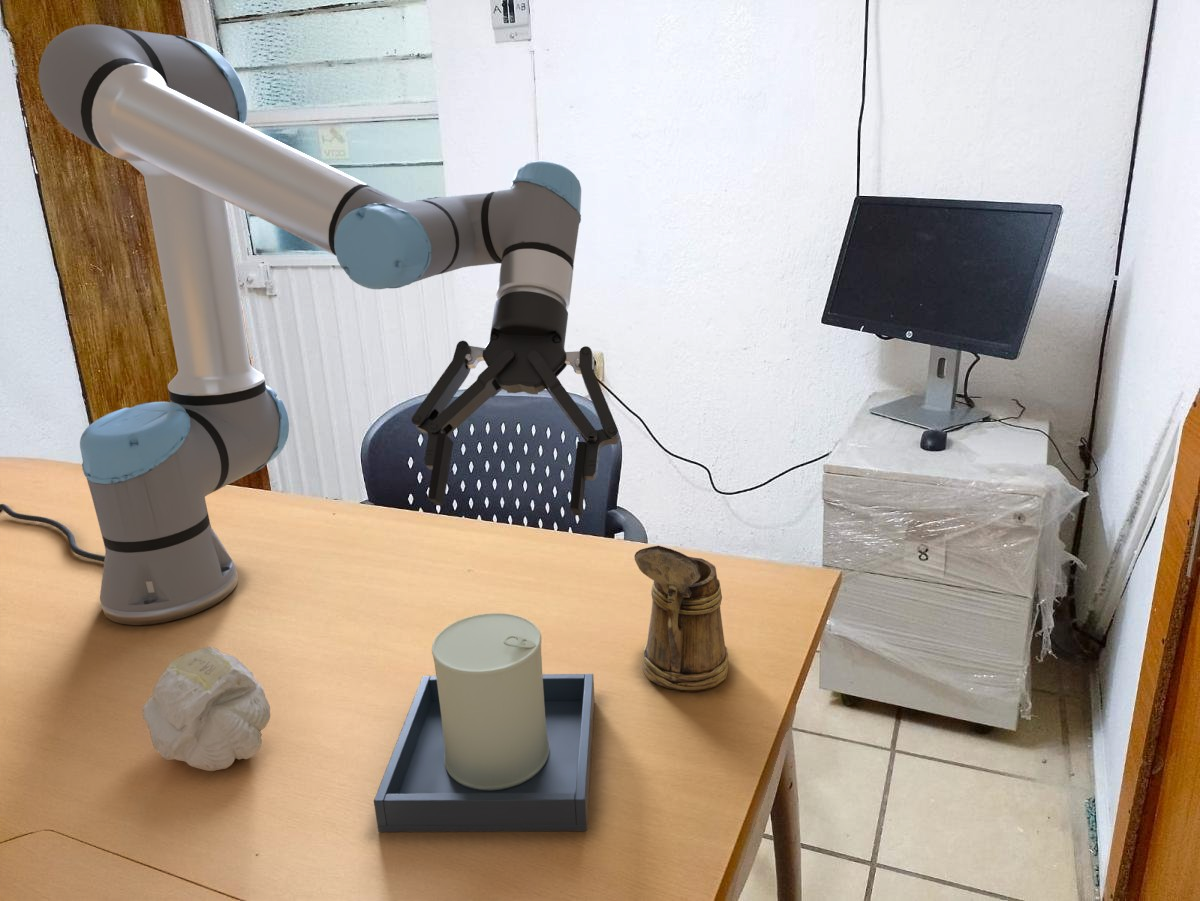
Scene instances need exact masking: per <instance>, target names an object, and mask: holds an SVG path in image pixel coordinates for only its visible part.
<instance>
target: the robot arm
mask: <svg viewBox="0 0 1200 901" xmlns="http://www.w3.org/2000/svg"><path fill="white" fill-rule="evenodd" d="M38 83H39V87H40V92H41V95H42V98H43V100H44V102H45V105H46V106H47V107H48V109H49V111H50V113H51V114H52V116H53V117H54V118H55V119H56V121H57V122H59V124H61V126H62V127H63V128H65V129H66V130H67V131H69V132H70V133H71V134H72V135H74V136H75V137H77V138H78V139H80V140H81V141H83V142H85V143H87V144H88V145H91V146H92V147H93V148H96V149H98V150H99V151H103V152H104V153H107V155H110V156H112V157H115V158H116V159H120V160H123V161H126V162H127V163H128V164H130V166H132V167H133V168H135V169H136V170H137V171H138V172H139V173H140V174H141V175H142V177H143V180H144V185H145V191H146V196H147V202H148V207H149V213H150V219H151V223H152V231H153V235H154V241H155V247H156V252H157V259H158V263H159V270H160V275H161V281H162V287H163V292H164V293H163V294H164V298H165V303H166V308H167V309H166V310H167V315H168V320H169V325H170V327H169V328H170V332H171V337H172V343H173V349H174V354H175V355H174V356H175V360H176V365H177V373H176V375H175V376H174V377H173V378H172V379H171V380H170V382H169V383H168V384H167V391H168V397H169V401H152V402H151V401H150V402H144V403H139V404H136V405H134V406H132V407H123V408H121V409H117V410H115V411H113V412H109V413H106V414H105V415H103V416H102V417H99V418H98V419H96V420H94V421H93V422H92V423H91V424H89V425H88V426H87V427H86V428H85V429H84V431H83V432H82V434H81V436H80V440H79V449H80V456H81V459H82V463H81V467H82V472H83V476H85V479H86V481H87V484H88V485H87V486H88V488H89V492H90V495H91V499H92V503H93V507H94V510H95V515H96V518H97V522H98V526H99V530H100V533H101V537H102V542H103V546H104V549H105V552H104V554H105V555H101V554H97V553H92V552H90V551H86V550H83V549H82V548H80V547H78V546H77V543H76V538H75V535H74V534H73V533H72V531H71V530H70V529H69V528H68V527H67V526H66V525H64V524H62V523H61V522H59V521H57V520H54V519H51V518H48V517H45V516H39V515H31V514H23V513H19V512H15V511H14V510H13V509H12V508H10V507H9V506H8V505H6V503H0V512H2V511H4V512H5V513H6V514H7V515H8V516H10V517H11V518H14V519H18V520H22V521H31V522H37V523H43V524H47V525H50V526H52V527H55V528H56V529H58V530H59V531H60V532H62V533H63V534H64V535H65V536H66V537H67V541H68V547H69V548H70V549H71V551H72V552H73V553H75V554H76V555H78V556H80V557H82V558H86V559H90V560H94V561H98V562H102V563H103V568H102V578H101V585H100V592H99V600H100V605H101V609H102V611H103V614H104V616H105V617H106V619H109V620H110V621H112V622H114V623H118V624H122V625H130V626H141V625H142V626H145V625H154V624H155V625H156V624H162V623H168V622H172V621H177V620H180V619H183V618H187V617H189V616H192V615H195V614H198V613H200V612H203V611H205V610H207V609H209V608H211V607H213V606H214V605H216V604H218V603H220V602H221V601H223V600H224V599H226V598H227V597H228V596H229V595H230V594H231V593H232V592H233V591H234V590H235V588H236V587H237V584H238V582H239V577H238V572H237V568H236V563H235V562H234V560H233V559H232V557H231V555H230V554H229V552H228V551H227V550H226V547H225V546H224V544H223V543H222V542H221V540H220V539H219V537H218V535H217V534H216V532H215V531H214V528H213V527H212V525H211V521H210V516H209V511H208V506H207V502H206V497H207V496H209V495H210V494H212V493H215V492H216V491H218V490H220V489H222V488H224V487H226V486H228V485H230V484H232V483H234V482H236V481H238V480H240V479H242V478H244V477H246V476H248V475H251V474H254V473H256V472H258V471H260V470H261V469H263V468H264V467H265V466H266V465H267V464H269V463H270V462H272V461H273V460H275V459H276V458H277V457H278V456H279V455H280V454H281V452H282V451H283V450H284V448H285V446H286V444H287V441H288V438H289V431H290V420H289V414H288V411H287V408H286V406H285V404H284V402H283V400H282V399H279V398H278V394H277V392H276V391H275V389H272V388H271V387H270V386H269V385H266V379H265V375H264V374H263V373H262V372H260V371H258V369H256V368H255V367H253V366H252V364H251V360H250V354H249V346H248V338H247V333H246V328H245V327H246V325H245V320H244V312H243V306H242V299H241V292H240V284H239V278H238V271H237V263H236V257H235V250H234V245H233V244H234V243H233V236H232V230H231V224H230V216H229V209H228V203H229V204H231V205H234V206H235V207H237V208H239V209H241V210H243V211H245V212H247V213H249V214H251V215H253V216H255V217H257V218H259V219H262V220H264V221H266V222H267V223H269V224H271V225H273V226H275V227H277V228H279V229H280V230H281V229H282V230H284V231H285V232H287V233H289V234H291V235H293V236H295V237H297V238H299V239H302V240H304V241H305V242H308V243H309V244H311V245H313V246H315V247H317V248H319V249H321V250H324V251H325V252H327V253H330V254H331V255H333V256H336V260H337V263H338V264H339V266H340V267H341V269H342V270H343V271H344V272H345V274H346V275H347V276H348V278H349V279H350V280H351V281H352V282H353V283H355V284H357V285H359V286H361V287H363V288H366V289H370V290H385V289H386V290H387V289H399V288H403V287H406V286H410V285H411V284H413V283H416V282H419V281H422V280H425V279H428V278H431V277H434V276H438V275H442V274H446V273H449V272H453V271H457V270H459V269H463V268H468V267H469V268H470V267H478V266H487V265H495V264H500V269H499V276H498V281H497V287H496V294H495V296H496V299H497V300H496V301H495V303H494V308H493V315H492V320H491V321H492V322H491V328H490V336H489V341H488V343H487V344H486V346H485V347H480V346H474V345H470V344H469V342H468V341H467V340H460V341H458V342H457V344H456V346H455V350H454V353H453V357H452V360H451V362H450V363H449V365H448V366H447V367H446V368H445V370H444V372H442V375H441V376H440V377H439V379H438V380H437V381H436V383H435V384H434V386H433V387H432V388H431V389H430V391H429V393H428V394H427V395H426V397H425V398H424V400H423V401H422V403H421V404H420V406H418V408H417V410H416V411H415V412H414V414H413V415H412V417H411V423H412V424H413V425H414V426H415V428H416V429H417V430H418V431H419V432H420V433H422V434H426V435H427V441H426V447H425V448H426V449H425V453H424V454H425V455H424V460H423V461H424V464H425V467H427V468H428V470H430V471H431V476H430V480H429V481H430V482H429V489H428V494H427V499H428V500H429V501H430V502H431V503H433V504H434V506H440V507H441V506H442V507H444V504H445V499H446V498H445V497H446V492H447V486H448V479H449V474H450V466H451V460H452V453H453V447H454V441H453V440H452V438H450V435H451V434H452V433H453V432H454V431H455V430H456V429H458V428H459V427H460V426H461V425H462V424H463V423H464V422H465V421H466V420H468V419H469V417H470V416H472V415H473V414H474V413H475V412H476V411H477V410H478V409H479V408H480V407H481V406H482V405H484V404H485V403H486V402H487V401H488V400H489V399H490V398H492V397H495V396H496V395H497V394H499V393H500V392H501V391H502V390H504V391H506V393H507V394H517V393H526V394H530V395H539V393H541V392H543V391H545V390H546V391H547V392H548V394H549V395H550V397H551V398H552V399H553V400H554V401H555V403H556V404H557V405H558V407H559V409H561V411H562V412H563V414H564V415H565V417H566V418H567V419H568V420H569V421H570V423H571V424H572V426H573V427H574V428H575V430H576V431H577V433H578V434H579V435H580V437H581V438H582V439H583V440H584V441H577V442H576V451H575V461H574V470H573V480H572V488H571V498H570V507H569V509H570V511H571V512H572V515H573V516H579V517H581V516H583V507H584V498H585V488H586V481H596V478H597V477H598V473H599V472H598V471H599V462H600V452H601V449H602V448H603V447H605V446H608V445H612V446H613V445H617V444H619V442H620V440H621V436H620V433H619V428H618V426H617V423H616V421H615V419H614V417H613V414H612V412H611V410H610V407H609V405H608V403H607V400H606V397H605V395H604V393H603V390H602V388H601V385H600V383H599V381H598V378H597V376H596V373H595V359H594V355H593V350H592V348H591V347H590V346H585V345H584V346H582V347H581V348H580V349H579V350H578V351H566V350H565V345H566V344H565V343H566V336H567V327H568V320H569V312H568V309H569V307H570V302H571V293H572V284H573V278H574V266H575V258H576V257H575V256H576V250H577V242H578V236H579V228H580V224H581V221H582V215H581V214H582V213H581V209H582V208H581V207H582V206H581V205H582V186H581V182H580V180H579V179H578V177H577V176H576V175H575V174H574V172H573V171H571V170H570V169H569V168H568V167H567V166H564V165H562V164H560V163H557V162H554V161H548V160H534V161H529V162H527V163H526V164H525V165H524V166H520V167H519V168H518V169H517V170H516V171H515V173H514V177H513V179H512V182H511V183H510V188H509V189H500V190H497V191H491V192H483V193H474V194H462V195H452V196H435V197H428V198H424V199H417V200H409V201H408V200H407V201H404V200H400V199H398V198H396V197H394V196H392V195H390V194H388V193H385V192H383V191H381V190H379V189H377V188H374V187H372V186H370V185H368V184H367V183H366V182H363V181H362V180H359V179H357V178H355V177H354V176H351V175H349V174H347V173H345V172H343V171H341V170H339V169H337V168H335V167H333V166H330V165H328V164H326V163H324V162H322V161H320V160H318V159H316V158H314V157H313V156H310V155H308V154H306V153H304V152H302V151H300V150H298V149H296V148H293V147H291V146H289V145H287V144H285V143H283V142H281V141H279V140H277V139H275V138H273V137H272V136H268V135H266V134H265V133H262V132H261V131H258V130H256V129H254V128H252V127H250V126H248V125H246V122H247V116H248V102H247V96H246V92H245V89H244V88H245V87H244V86H243V84H242V81H241V79H240V76H239V74H238V73H237V71H236V70H235V68H234V67H233V66H232V64H231V62H229V60H227V59H226V58H225V57H224V56H223V55H222V54H221V53H220V52H219V51H218V50H216V49H215V48H214V47H211V46H210V45H208V44H205V43H203V42H201V41H197V40H193V39H189V38H187V37H184V36H182V35H173V34H165V33H158V32H150V31H143V30H136V29H128V28H121V27H115V26H112V25H106V24H95V23H94V24H93V23H91V24H82V25H75V26H74V27H70V28H68V29H65V30H63V31H62V32H61V33H59V34H58V35H56V36H55V37H54V38H52V40H50V42H49V43H48V44H47V46H45V48H44V51H43V53H42V54H41V58H40V62H39V65H38ZM480 362H485V364H486V366H487V367H486V368H485V369H484V370H483V371H482V372H481V373H480V374H478V376H477V377H476V380H475V381H474V382H473V383H472V384H471V385H470V386H468V387H467V389H465V390H464V391H463V392H462V393H461V394H460V395H459V396H458V397H457V398H456V399H454V400H453V401H452V399H453V398H454V396H455V395H456V394H457V392H458V391H459V390H460V388H461V387H462V385H463V383H464V382H465V381H466V379H467V378H468V377H469V374H470V372H471V370H473V369H475V368H477V366H478V365H479V363H480ZM567 366H571V368H573V372H575V374H577V375H581V377H582V380H583V383H584V387H585V389H586V391H587V393H588V396H589V399H590V401H591V403H592V406H593V408H594V410H595V413H596V416H597V418H598V420H599V423H600V425H601V428H600V429H595V427H594V426H593V425H592V423H591V422H590V421H589V419H588V418H587V416H586V415H585V414H584V413H583V411H582V410H581V408H580V407H579V406H578V405H577V403H576V402H575V400H574V399H573V398H572V396H571V395H570V394H569V392H568V391H567V390H566V388H565V387H564V386H563V384H562V383H561V381H560V380H559V378H558V377H559V375H561V373H562V372H563V371H564V370H565V369H566V367H567ZM451 401H452V402H451ZM450 402H451V403H450Z"/></svg>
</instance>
